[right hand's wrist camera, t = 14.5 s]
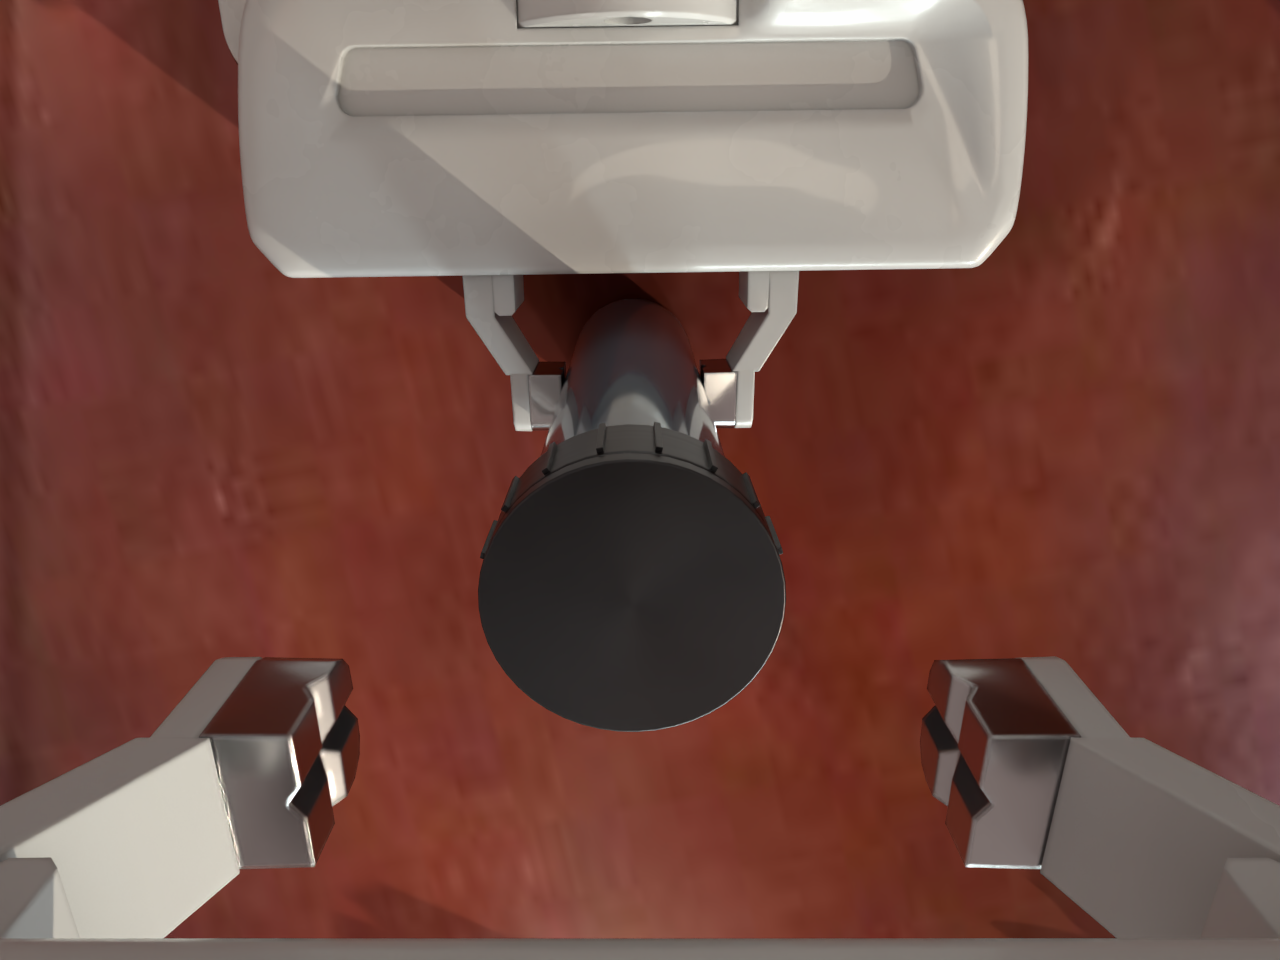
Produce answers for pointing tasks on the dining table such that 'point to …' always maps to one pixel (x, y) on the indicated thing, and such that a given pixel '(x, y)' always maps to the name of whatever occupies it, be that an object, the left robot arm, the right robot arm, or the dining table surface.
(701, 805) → the dining table surface
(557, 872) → the dining table surface
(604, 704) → the lid
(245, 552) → the dining table surface
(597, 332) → the grey cylindrical rod
